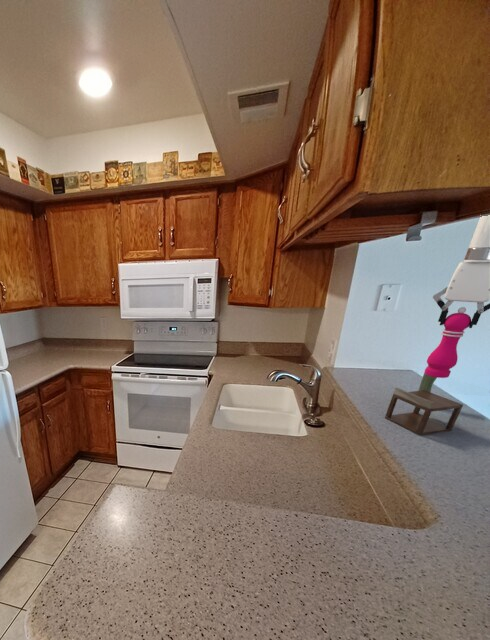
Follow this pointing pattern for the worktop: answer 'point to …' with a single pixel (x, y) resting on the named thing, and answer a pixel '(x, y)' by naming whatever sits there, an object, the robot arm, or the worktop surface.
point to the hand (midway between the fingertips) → (455, 325)
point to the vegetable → (427, 382)
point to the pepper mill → (448, 345)
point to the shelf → (429, 404)
